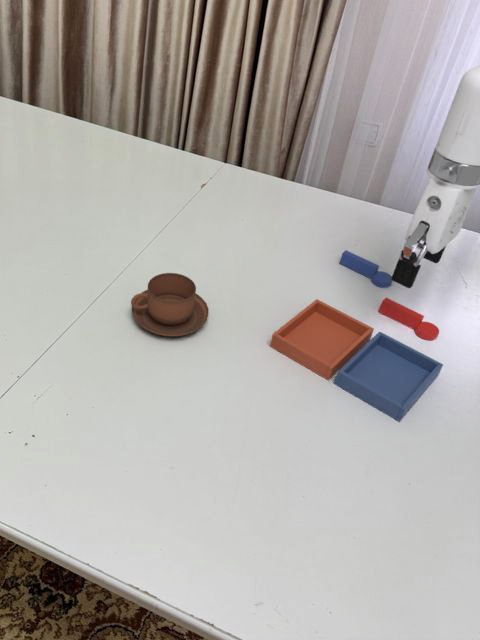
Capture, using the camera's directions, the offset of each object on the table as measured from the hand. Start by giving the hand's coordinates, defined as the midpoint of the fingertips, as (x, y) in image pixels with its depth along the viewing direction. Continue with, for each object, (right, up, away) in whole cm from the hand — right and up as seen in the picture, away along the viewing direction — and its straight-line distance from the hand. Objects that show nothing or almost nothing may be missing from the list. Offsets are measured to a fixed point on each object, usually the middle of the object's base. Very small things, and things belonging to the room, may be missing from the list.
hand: (415, 271), depth 95 cm
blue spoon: (-3, +1, +16) cm, 16 cm away
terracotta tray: (-14, -11, +1) cm, 18 cm away
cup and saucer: (-38, -7, +3) cm, 39 cm away
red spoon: (+1, -8, +6) cm, 10 cm away
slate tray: (-6, -17, -5) cm, 18 cm away
